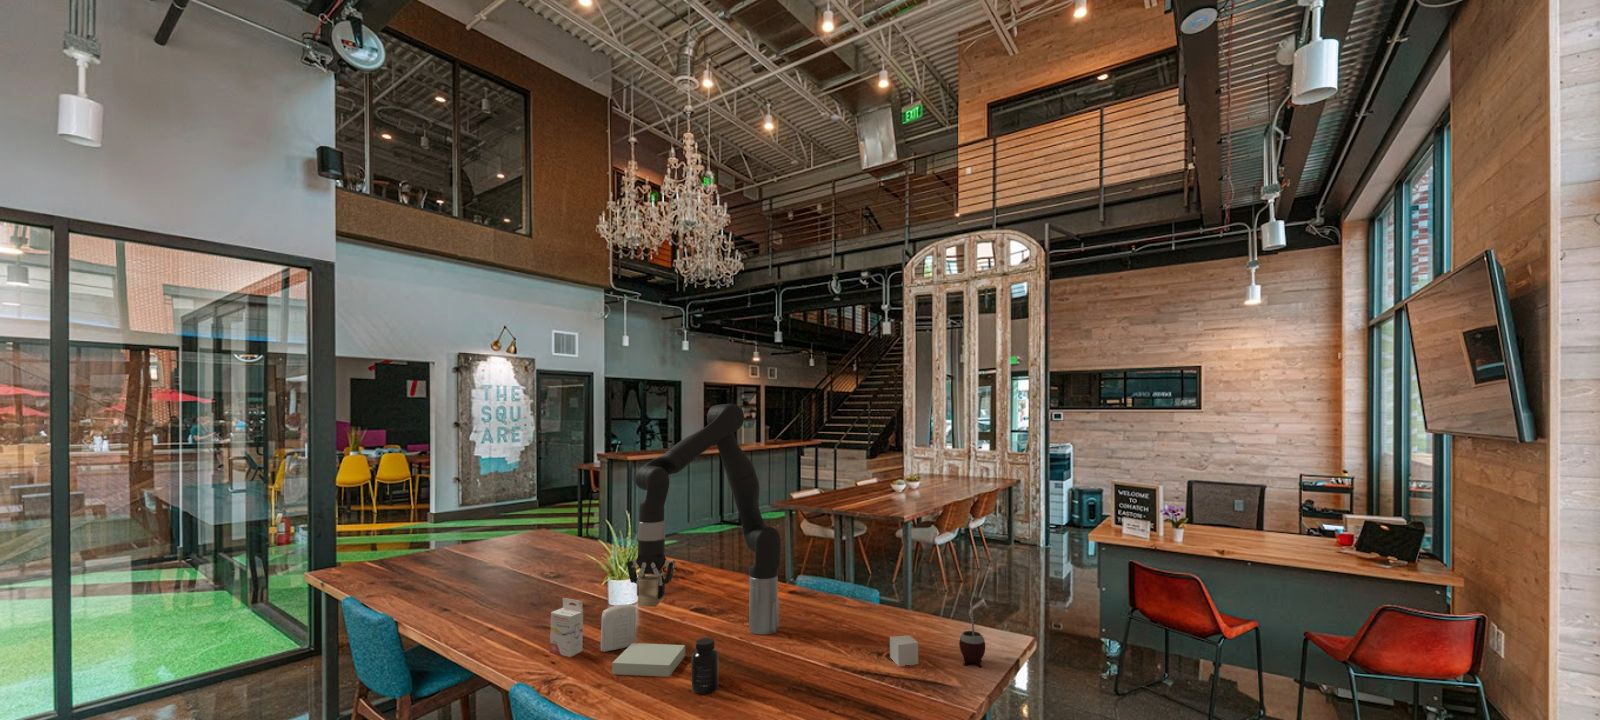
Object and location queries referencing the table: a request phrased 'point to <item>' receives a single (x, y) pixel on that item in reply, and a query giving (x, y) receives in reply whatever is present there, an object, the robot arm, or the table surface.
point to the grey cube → (904, 650)
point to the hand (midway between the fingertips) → (650, 597)
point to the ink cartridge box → (567, 629)
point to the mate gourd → (972, 645)
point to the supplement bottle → (705, 667)
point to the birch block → (648, 591)
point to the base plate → (649, 660)
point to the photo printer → (618, 627)
